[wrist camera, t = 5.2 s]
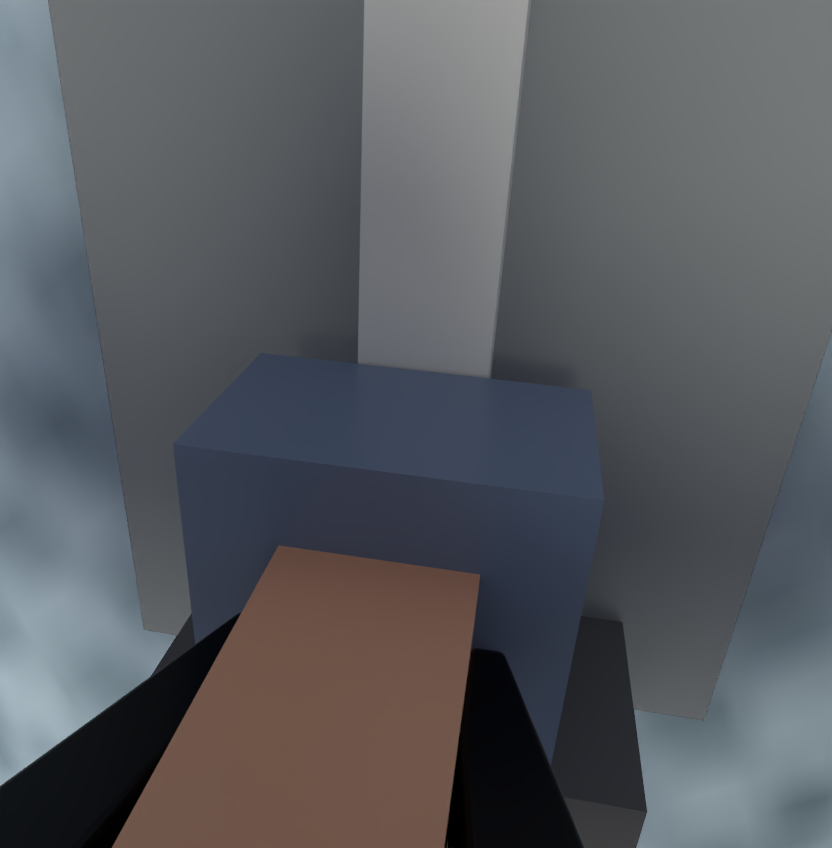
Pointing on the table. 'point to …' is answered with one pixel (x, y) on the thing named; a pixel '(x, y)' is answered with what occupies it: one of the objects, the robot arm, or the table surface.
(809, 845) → the table surface
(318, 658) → the traveler car
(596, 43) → the traveler track
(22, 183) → the table surface
